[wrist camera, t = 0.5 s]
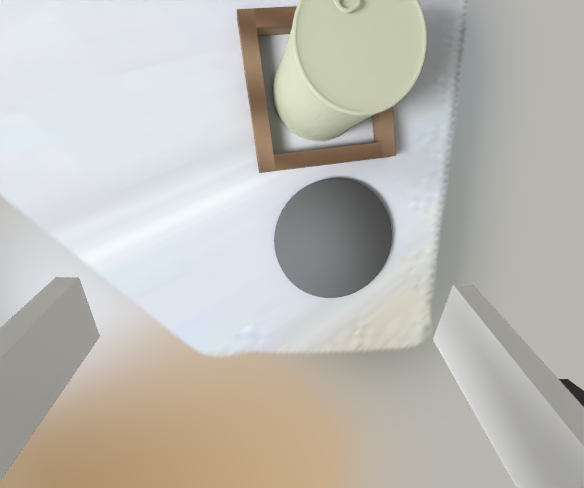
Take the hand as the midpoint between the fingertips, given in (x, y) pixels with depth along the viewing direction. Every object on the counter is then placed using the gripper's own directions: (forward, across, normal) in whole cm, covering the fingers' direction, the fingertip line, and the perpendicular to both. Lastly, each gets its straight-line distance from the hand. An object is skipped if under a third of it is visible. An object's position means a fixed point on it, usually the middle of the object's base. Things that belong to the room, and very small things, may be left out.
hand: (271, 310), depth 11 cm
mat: (+21, +6, -8) cm, 23 cm away
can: (+26, +4, +6) cm, 27 cm away
